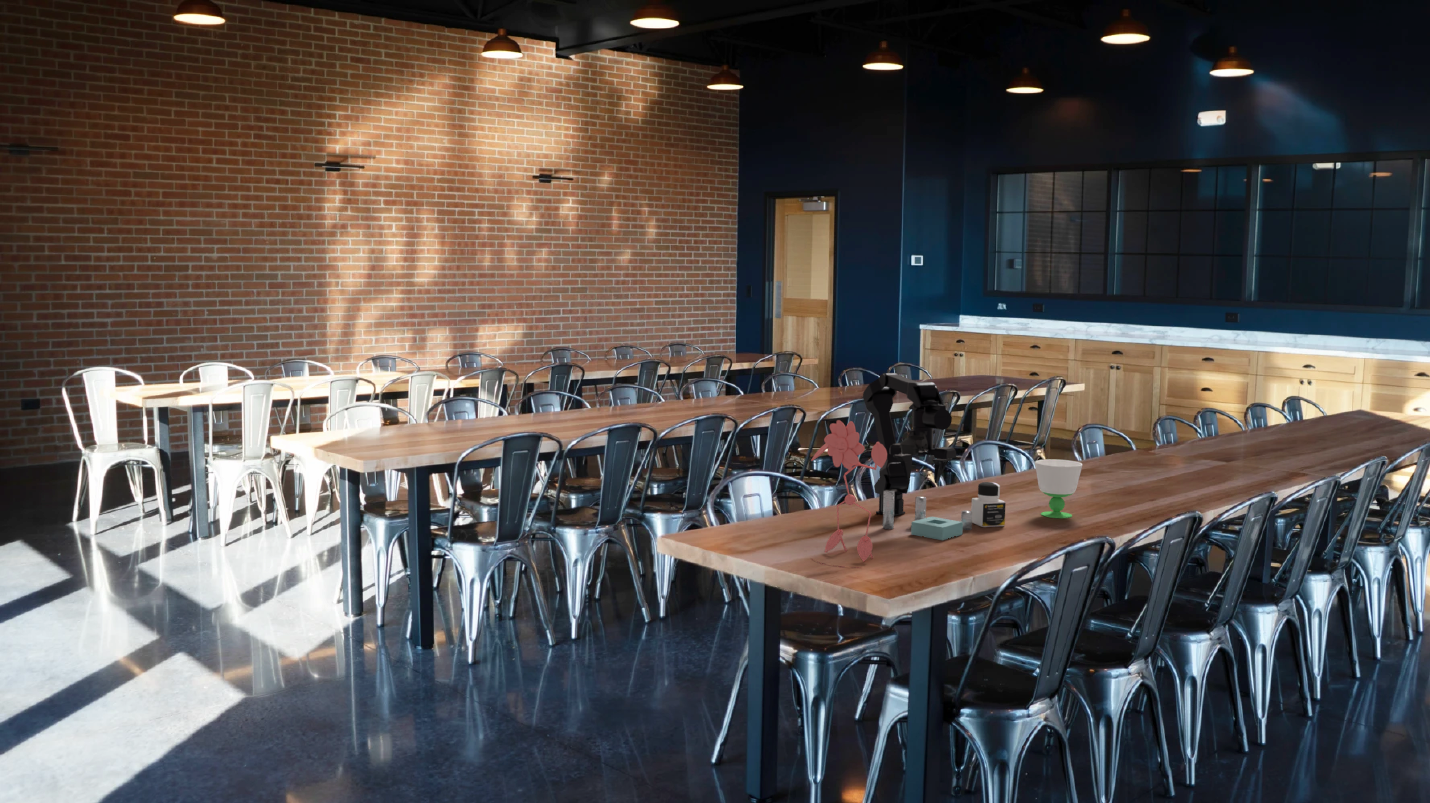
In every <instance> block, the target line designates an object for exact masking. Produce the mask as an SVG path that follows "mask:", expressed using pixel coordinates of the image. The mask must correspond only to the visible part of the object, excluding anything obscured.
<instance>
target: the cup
mask: <svg viewBox="0 0 1430 803" xmlns="http://www.w3.org/2000/svg"><path fill="white" fill-rule="evenodd" d="M1034 467H1035V472H1036V473H1035V474H1036V478H1037V483H1038V484H1037V485H1038V489H1039V490H1040V492H1042V493H1043V494H1044V495H1046V496H1049V497H1051V498H1050V499H1049V501H1048V506H1049V508H1050V511H1043V512H1041V513H1040V515H1041V516H1042V517H1045V518H1051V519H1052V518H1053V519H1070V518H1072V517H1073V514H1072V513H1068V512H1063V509H1064V508H1065V505H1066V504H1065V500H1064V498H1066V497H1069V496H1072V495H1073V494H1075V492H1076V490H1077V487H1078V484H1079V481H1080V477H1081V472H1082V468H1083V463H1082V462H1079V461H1075V460H1068V459H1058V458H1056V459H1052V458H1051V459H1049V458H1047V459H1046V458H1045V459H1039V460H1038V459H1037V460H1036V461H1034ZM1051 510H1052V511H1051Z"/></svg>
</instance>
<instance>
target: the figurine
mask: <svg viewBox="0 0 1430 803" xmlns="http://www.w3.org/2000/svg"><path fill="white" fill-rule="evenodd" d="M829 430H830V432H831V433H829V434H827V435H826V436H825V437H824V439H823V440H824V443H825V444H822V445H821V447H820V448H819V449H817V451H816V452H815V453H814V455H813V456H812V458H811V460H810V461H811V462H812V461H815V460H816V459H817V458H819V457H820V456H821V455H822V454H824V452H825V451H826V450H827V455H828V456H829V457H832V462H833V466H834V467H835V468H839V467H841V465H843V468H846V469H847V471H846V472H844V475H843V479H844V483H845V487H846V492H847V495H846V496H845V497H844V500H843V501H842V502H840V503H839V504H837V505H836V513H837V515H836V516H837V518H836V519H837V530H835V531H834V532H833V533H832V534H831V535H830V536H829V538H828V540H827V541H826V544H825V549H824V553H827V552H830V551H831V550H833V549H834V548H835V547H837V546H838V545H839V543H840V542H841V544H842V545H841V546H842V548H843V550H844V552H848V550H847V548H846V544H845V542H844V539H843V535H844V531H843V529H840V521H839V519H840V516H839V514H840V513H839V507H840V506H842V505H843V504H846V505H848V506H853V505H854V506H857V507H859V508H861V509H862V510H864V511H866V512H868V513H869V514H868V520H867V526H866V532H865V535H863V536H861V537H860V539H859V541H858V542H857V547H856V548H857V554H858V555H859V557H860V559H861V560H862V561H863V562H864V563H865V561H866V560H868V558H869V557H870V558H871V559H873V558H874V556H873V553H872V551H873V542H872V540H871V538H870V537H869V536H868V532H869V526H870V522H871V517H872V513H871V512H872V511H870V510H869V509H866V508H864V507H863V506H861V505H860V504H858V503H856V501H857V500H856V496H854V495H853V494H850V491H849V485H848V480H847V475H848V474H849V473H851V472H852V471H853V470H854V469H855V468H857V467H863V468H866V469H870V470H874V471H877V468H878V467H879V468H882V467H883V465H884V463H885V462H886V460H887V451H886V448H885V447H884V446H883V444H880V443H879V441H876V443H875V444H874V445H873V446H872V449H871V459H872V461H873V463H874V467H873V466H870V465H866V464H863V463H861V461H860V459H859V457H858V456H860V455H861V454H863V453H864V452H865V445H863V444H862V443H861V442H859V441H860V433H859V432H858V431H857V430H856V426H855V423H854V422H853V421H851V420H849V422H848V423H847V425H845V424H844V422H843V421H841V420H840V419H837V420H836V423H834V422H833V423H830V425H829ZM811 560H812V561H813V560H814V559H813V558H811ZM818 562H819V564H820V565H824V564H825V563H823V562H820V561H818ZM821 563H822V564H821ZM832 565H833V566H832V567H835V565H834V564H832ZM837 566H838V567H839V568H844V566H842V565H841V566H839V565H837ZM850 567H851V568H852V569H856V568H857V569H858V568H859V569H861V568H863V567H862V566H850Z"/></svg>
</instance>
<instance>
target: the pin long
mask: <svg viewBox="0 0 1430 803" xmlns="http://www.w3.org/2000/svg"><path fill="white" fill-rule="evenodd" d="M894 520H895V516H894V491H891V490H886V491H884V499H883V514H882V529H883V528H884V530H894V529H893V528H894V527H895V526H894V523H895V521H894Z"/></svg>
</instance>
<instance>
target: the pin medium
mask: <svg viewBox="0 0 1430 803" xmlns="http://www.w3.org/2000/svg"><path fill="white" fill-rule="evenodd" d="M914 509H915V510H914V521H917V520H920V519H924V518H927V515H926V514H927V512H926V511H927V497H926V496H922V495H921V496H916V497H915V505H914Z"/></svg>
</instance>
